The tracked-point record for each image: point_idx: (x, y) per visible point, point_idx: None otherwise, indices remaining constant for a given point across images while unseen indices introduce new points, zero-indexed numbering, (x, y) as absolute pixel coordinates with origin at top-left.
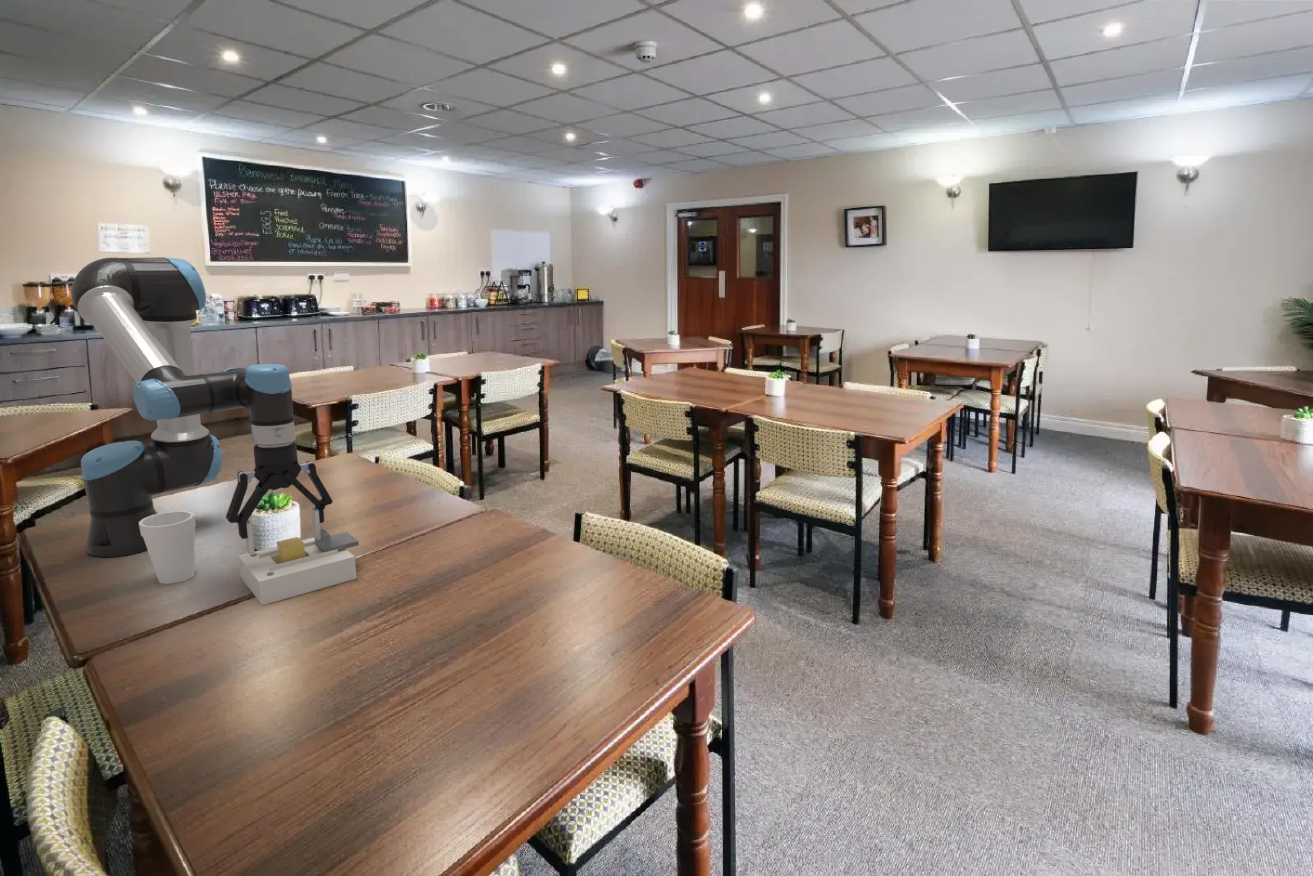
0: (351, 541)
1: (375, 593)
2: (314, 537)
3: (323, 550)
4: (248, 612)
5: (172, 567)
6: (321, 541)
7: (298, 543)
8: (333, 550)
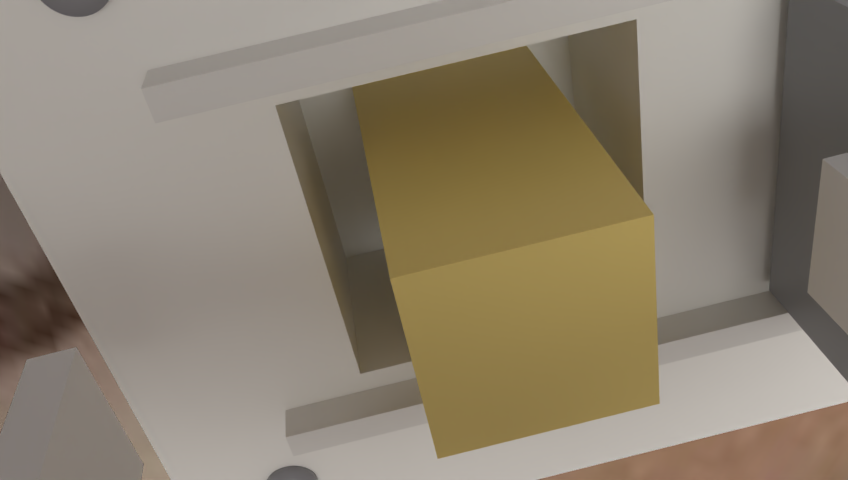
0: None
1: (796, 464)
2: (818, 206)
3: (780, 247)
4: (154, 462)
5: None
6: None
7: (607, 410)
8: None
